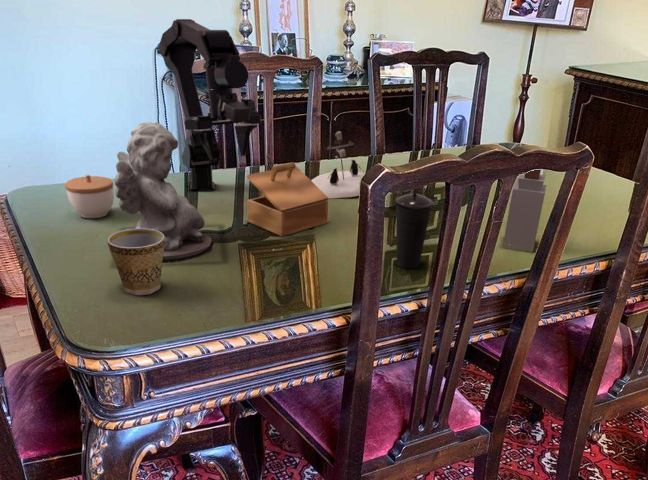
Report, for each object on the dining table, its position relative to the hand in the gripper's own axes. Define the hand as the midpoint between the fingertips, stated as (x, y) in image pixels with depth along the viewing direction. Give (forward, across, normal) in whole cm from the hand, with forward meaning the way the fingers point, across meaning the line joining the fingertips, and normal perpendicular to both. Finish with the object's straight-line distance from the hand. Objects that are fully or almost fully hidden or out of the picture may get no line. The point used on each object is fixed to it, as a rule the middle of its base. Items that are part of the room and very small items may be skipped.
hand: (228, 157), depth 157 cm
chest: (+15, +4, -16) cm, 22 cm away
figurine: (+12, +34, -5) cm, 37 cm away
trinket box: (+11, -28, +18) cm, 35 cm away
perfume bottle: (+21, +35, -61) cm, 73 cm away
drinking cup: (+21, +7, -51) cm, 55 cm away
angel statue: (+15, -25, -11) cm, 31 cm away
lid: (+7, +4, -17) cm, 19 cm away
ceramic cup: (+18, -40, -24) cm, 50 cm away
